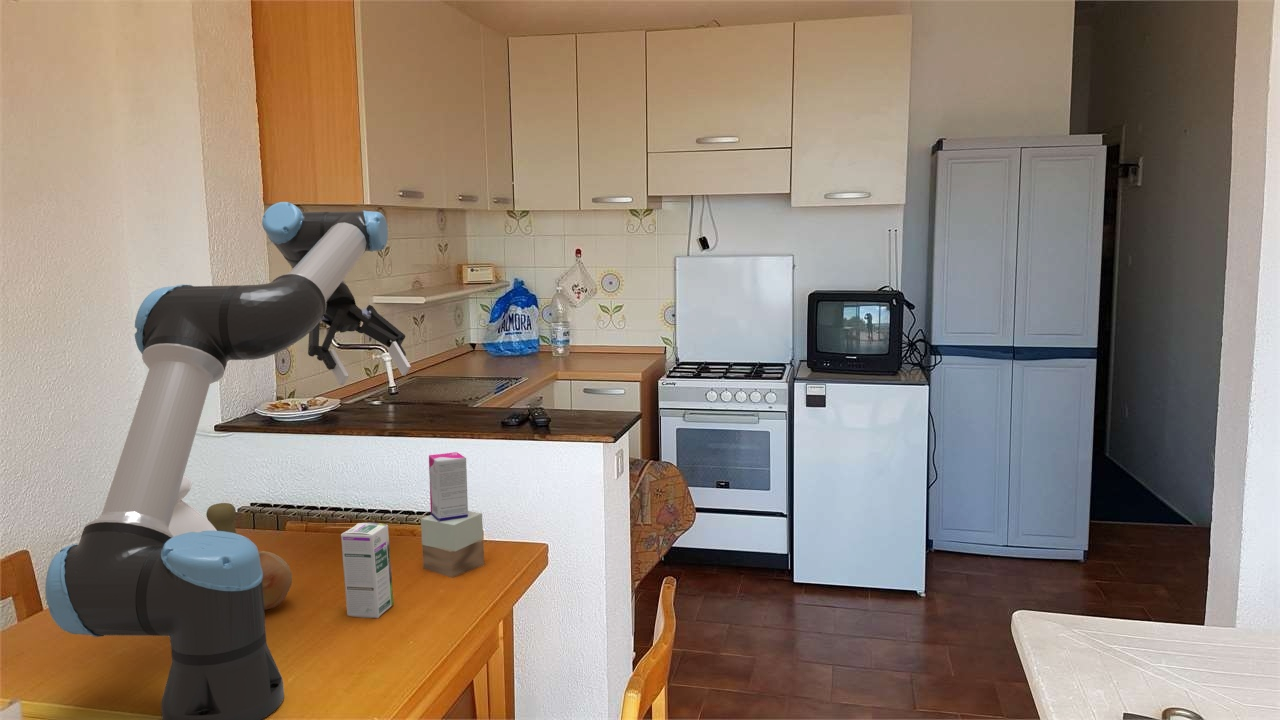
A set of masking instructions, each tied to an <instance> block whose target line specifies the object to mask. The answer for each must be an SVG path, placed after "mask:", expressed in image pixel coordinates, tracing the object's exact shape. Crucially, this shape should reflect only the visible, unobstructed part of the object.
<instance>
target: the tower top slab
mask: <svg viewBox="0 0 1280 720" xmlns="http://www.w3.org/2000/svg"><path fill="white" fill-rule="evenodd" d="M483 527H484V526H483V513H482V512H476V511H472V510H471V511H470V510H468V517H465V518H459V519H452V520H446V521H440V522H439V521H438V520H437V519H436V518H435V517H433V516H432V515H431V514H430V515H427V516H425V517H423V518H420V530H421V545H426V546H430V547H435V548H440V549H445V550H450V551H457V550H460V549H462V548H464V547H466V546H468V545H471V544H473V543H475V542H477V541H479V540H484V531H483V530H484V528H483Z"/></svg>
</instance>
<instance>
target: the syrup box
mask: <svg viewBox="0 0 1280 720" xmlns="http://www.w3.org/2000/svg"><path fill="white" fill-rule="evenodd" d="M389 535H390V534H389V525H388V524H385V523H379V522H358V523H356V525H354V526H353V527H351V528H349V529H347V530H345V531H344V532H342V533H341V534H340V538H341V551H342V554H341V555H342V565H343V567H342V568H343V580H344V590H345V591H344V592H345V602H346V604H345V605H346V615H347V616H348V617H354V618H367V619H379V618H380V616H382V615H383V614H384V613H385V612H386V611H388V610H389V609H390V608H391V607H392V606H393V605H394V595H393V593H394V591H393V581H392V580H393V579H392V578H393V577H392V565H391V562H392V561H391V552H390V551H391V550H390V548H391V547H390V538H389V537H390V536H389Z"/></svg>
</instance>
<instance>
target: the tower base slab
mask: <svg viewBox="0 0 1280 720" xmlns="http://www.w3.org/2000/svg"><path fill="white" fill-rule="evenodd" d="M421 545H422V544H421ZM484 548H485V547H484V539H482V540H479V541H477V542H475V543H473V544H471V545H468V546H466V547H464V548H462V549H460V550H457V551H450V550H445V549H440V548H435V547H430V546H426V545H422V547H421V549H422V550H421V552H422V568H423V569H424V570H426V571H430V572H433V573H436V574H439V575H442V576H446V577H448V578H455V577H457V576H460V575H462V574H465V573H468V572H470V571H473V570H474V569H478V568H481V567H483V566H485V552H484V551H485V550H484ZM423 569H422V570H423Z"/></svg>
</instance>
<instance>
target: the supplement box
mask: <svg viewBox="0 0 1280 720" xmlns="http://www.w3.org/2000/svg"><path fill="white" fill-rule="evenodd" d="M428 468H429V469H428V472H429V475H428V477H429V499H430V505H429V506H430V515H432V516H433V517H435V518H436V519H437V520H438V521H439V522H440V521H446V520H452V519H459V518H465V517H468V511H469V507H468V506H469V505H468V504H469V503H468V479H467V478H468V475H467V473H468V472H467V457H465V456H463V454H461V453H459V452H458V451H455V452H447V453H439V454H438V453H437V454H429V455H428Z"/></svg>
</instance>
